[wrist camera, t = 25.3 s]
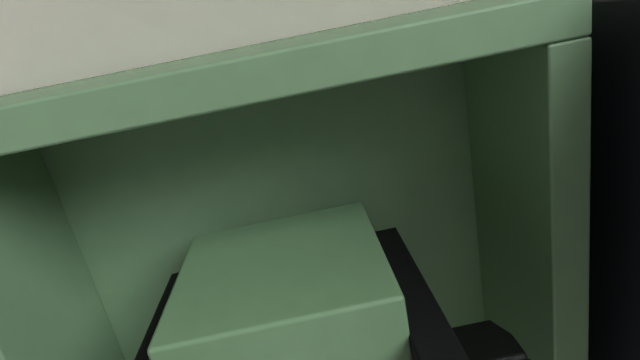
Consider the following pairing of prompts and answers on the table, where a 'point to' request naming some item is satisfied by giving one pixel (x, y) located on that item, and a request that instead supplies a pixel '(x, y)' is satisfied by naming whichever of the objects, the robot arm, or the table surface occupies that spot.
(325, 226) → the green block
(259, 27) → the table surface
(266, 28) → the table surface
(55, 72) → the table surface
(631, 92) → the dark bin
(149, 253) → the green bin
